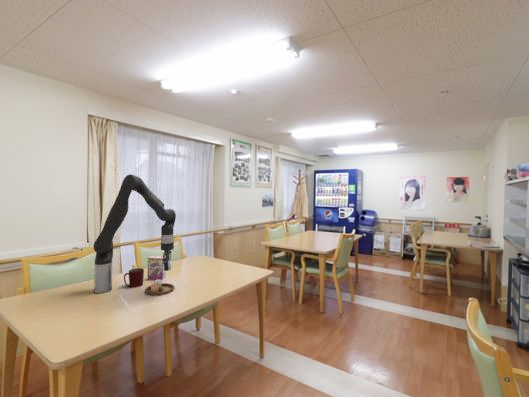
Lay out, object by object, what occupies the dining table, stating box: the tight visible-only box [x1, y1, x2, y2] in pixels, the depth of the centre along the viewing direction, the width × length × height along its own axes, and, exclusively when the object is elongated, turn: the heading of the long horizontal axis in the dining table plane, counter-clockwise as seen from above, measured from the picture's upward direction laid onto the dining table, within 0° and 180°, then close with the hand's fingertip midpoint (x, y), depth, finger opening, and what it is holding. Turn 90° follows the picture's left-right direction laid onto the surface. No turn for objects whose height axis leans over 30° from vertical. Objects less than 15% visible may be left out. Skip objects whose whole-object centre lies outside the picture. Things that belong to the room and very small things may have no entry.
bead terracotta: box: [150, 282, 159, 292], centre depth 159 cm, size 4×4×5 cm
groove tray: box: [144, 282, 175, 297], centre depth 163 cm, size 16×16×3 cm
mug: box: [123, 267, 145, 289], centre depth 170 cm, size 12×9×11 cm
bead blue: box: [164, 260, 172, 272], centre depth 163 cm, size 4×4×5 cm
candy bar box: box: [147, 255, 167, 281], centre depth 185 cm, size 11×5×16 cm, turn 84°
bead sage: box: [153, 279, 163, 287], centre depth 166 cm, size 4×4×5 cm
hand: (167, 269), depth 163 cm, fingers closed on bead blue, 4 cm apart
